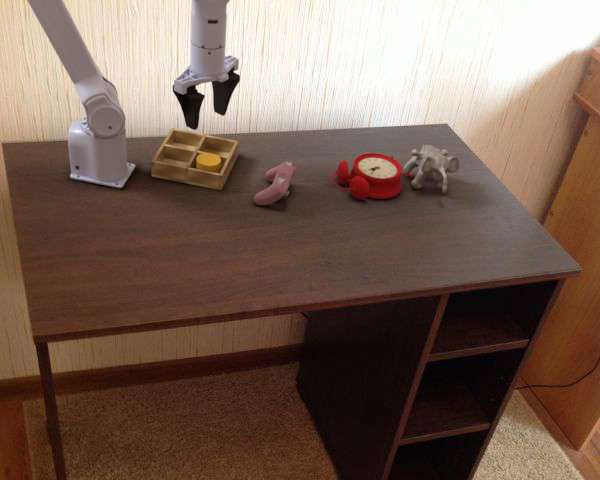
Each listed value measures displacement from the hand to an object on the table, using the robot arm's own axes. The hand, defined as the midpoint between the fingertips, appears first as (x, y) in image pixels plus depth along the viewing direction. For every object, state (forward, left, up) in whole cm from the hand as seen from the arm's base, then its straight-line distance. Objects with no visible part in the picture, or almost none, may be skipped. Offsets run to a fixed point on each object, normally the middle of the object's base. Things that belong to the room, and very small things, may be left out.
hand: (206, 120), depth 133 cm
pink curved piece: (+14, -4, -10) cm, 18 cm away
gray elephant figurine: (+42, +9, -10) cm, 44 cm away
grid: (-2, 0, -9) cm, 10 cm away
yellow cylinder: (+1, -3, -9) cm, 9 cm away
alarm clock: (+30, +5, -10) cm, 32 cm away
